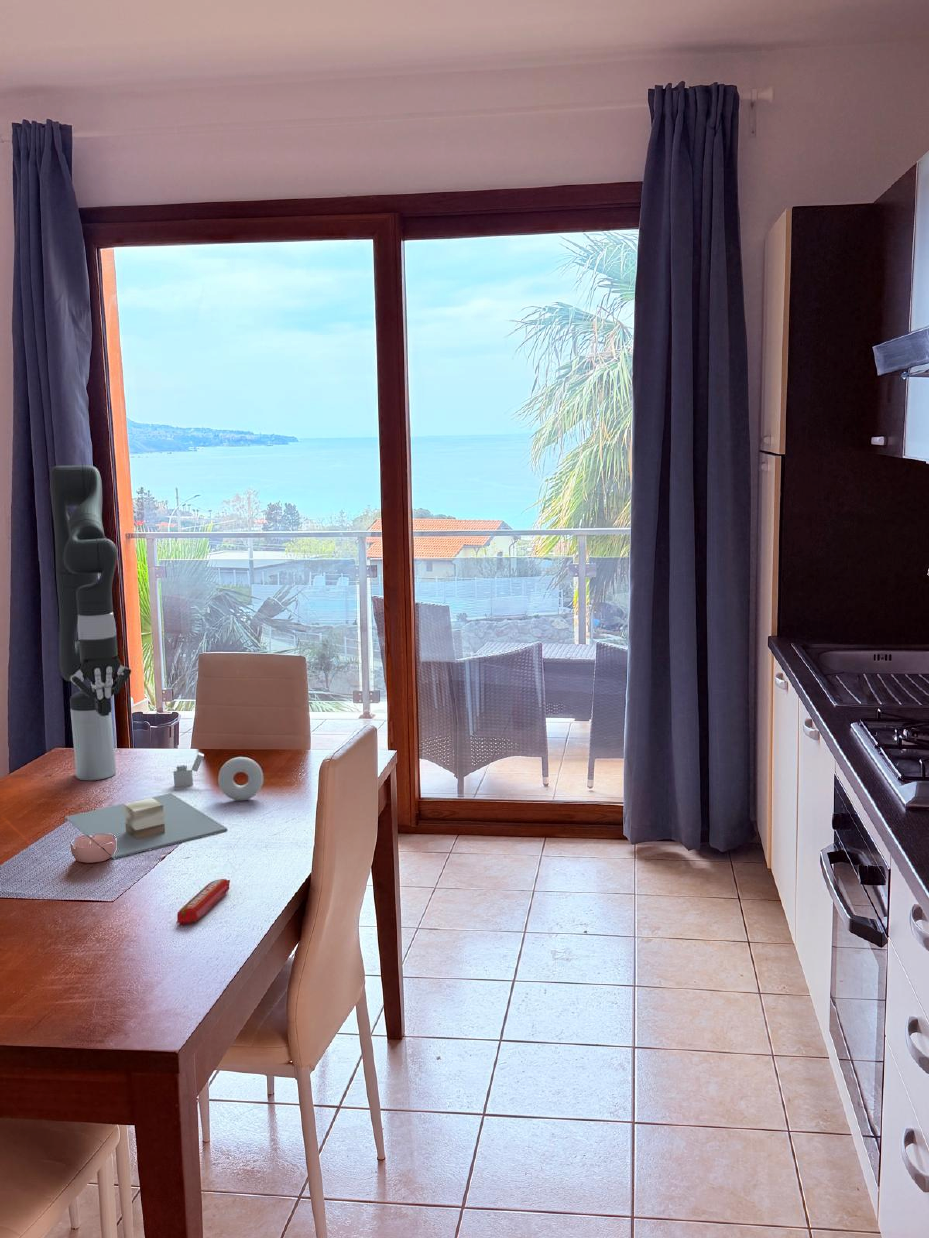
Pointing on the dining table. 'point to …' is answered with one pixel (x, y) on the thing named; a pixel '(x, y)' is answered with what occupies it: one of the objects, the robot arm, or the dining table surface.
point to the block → (144, 818)
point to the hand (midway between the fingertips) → (103, 715)
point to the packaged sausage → (203, 901)
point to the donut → (236, 790)
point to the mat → (178, 828)
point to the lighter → (186, 773)
